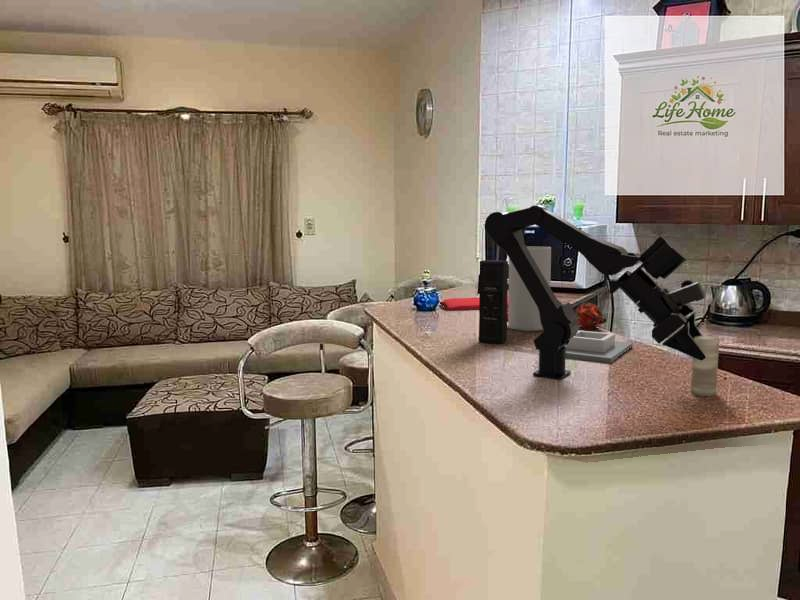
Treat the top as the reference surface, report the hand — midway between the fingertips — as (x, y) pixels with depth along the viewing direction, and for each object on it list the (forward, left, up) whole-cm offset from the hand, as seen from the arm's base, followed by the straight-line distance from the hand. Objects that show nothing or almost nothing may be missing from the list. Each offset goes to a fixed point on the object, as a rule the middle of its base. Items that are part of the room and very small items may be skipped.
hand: (705, 354), depth 117 cm
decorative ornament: (+58, +70, -8) cm, 91 cm away
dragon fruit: (+56, +40, -8) cm, 69 cm away
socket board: (+25, +30, -8) cm, 40 cm away
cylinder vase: (+47, +56, -8) cm, 74 cm away
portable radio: (+23, +57, -8) cm, 62 cm away
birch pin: (0, 0, -8) cm, 8 cm away
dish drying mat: (+84, +85, -9) cm, 120 cm away
